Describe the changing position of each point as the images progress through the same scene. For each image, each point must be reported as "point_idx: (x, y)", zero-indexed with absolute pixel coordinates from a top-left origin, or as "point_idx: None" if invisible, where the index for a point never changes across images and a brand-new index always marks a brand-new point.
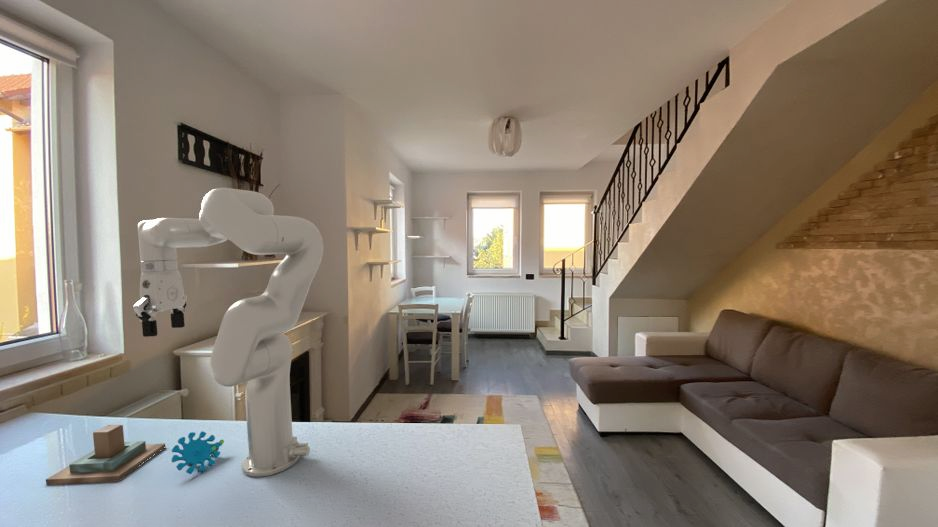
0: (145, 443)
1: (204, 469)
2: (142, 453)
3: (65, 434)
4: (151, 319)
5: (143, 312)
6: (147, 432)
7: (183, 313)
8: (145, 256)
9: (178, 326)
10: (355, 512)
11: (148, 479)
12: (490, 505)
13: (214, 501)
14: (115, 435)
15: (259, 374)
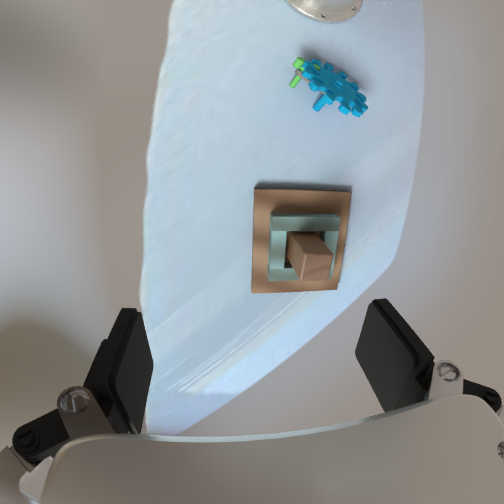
0: (271, 215)
1: (342, 71)
2: (287, 205)
3: (196, 375)
4: (448, 368)
5: (500, 403)
6: (190, 267)
7: (93, 378)
8: None
9: (143, 335)
10: None
11: (350, 148)
12: None
13: (400, 39)
14: (317, 247)
15: None
